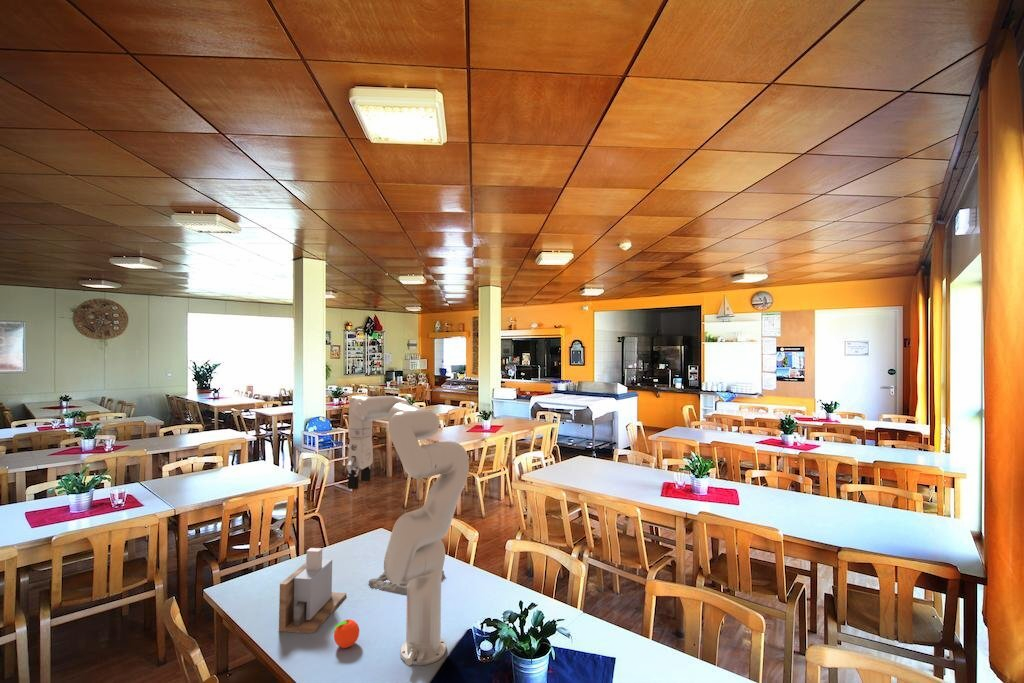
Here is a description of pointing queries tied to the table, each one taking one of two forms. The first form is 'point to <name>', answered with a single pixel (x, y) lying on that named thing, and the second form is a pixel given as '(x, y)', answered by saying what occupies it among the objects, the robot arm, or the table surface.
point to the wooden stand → (302, 608)
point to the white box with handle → (314, 582)
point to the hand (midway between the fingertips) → (359, 484)
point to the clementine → (346, 633)
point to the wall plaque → (390, 585)
